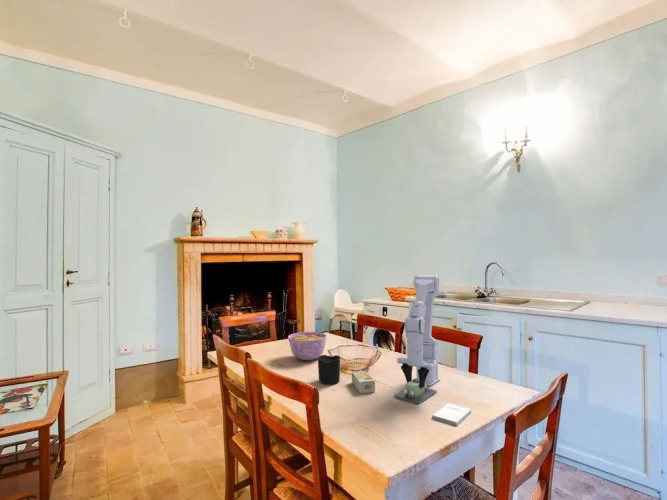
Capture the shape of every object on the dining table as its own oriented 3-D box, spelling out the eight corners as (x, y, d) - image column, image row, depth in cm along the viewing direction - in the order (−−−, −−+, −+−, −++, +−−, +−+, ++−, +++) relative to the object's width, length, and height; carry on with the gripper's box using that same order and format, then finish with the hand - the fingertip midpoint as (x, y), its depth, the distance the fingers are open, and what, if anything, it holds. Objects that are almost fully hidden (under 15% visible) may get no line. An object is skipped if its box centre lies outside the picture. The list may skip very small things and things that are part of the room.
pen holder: (327, 387, 144) (327, 362, 144) (313, 381, 151) (313, 357, 151) (345, 381, 150) (344, 357, 150) (331, 375, 157) (330, 353, 157)
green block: (415, 389, 138) (414, 377, 138) (424, 391, 135) (424, 379, 135) (405, 394, 133) (405, 382, 133) (415, 397, 130) (414, 384, 130)
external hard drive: (431, 420, 115) (447, 407, 125) (456, 427, 110) (471, 413, 119) (431, 415, 115) (447, 402, 125) (456, 422, 110) (471, 408, 120)
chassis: (413, 386, 143) (413, 378, 143) (436, 392, 136) (436, 384, 136) (394, 397, 133) (394, 388, 133) (418, 404, 126) (418, 395, 126)
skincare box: (359, 382, 137) (350, 372, 149) (359, 393, 137) (351, 382, 149) (375, 380, 138) (365, 370, 150) (375, 391, 138) (365, 381, 150)
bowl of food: (281, 362, 177) (281, 339, 178) (297, 352, 197) (297, 331, 197) (319, 365, 172) (319, 341, 172) (332, 354, 191) (331, 332, 191)
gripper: (392, 348, 137) (393, 384, 136) (427, 355, 127) (428, 393, 127) (402, 344, 142) (403, 379, 142) (436, 351, 132) (437, 388, 132)
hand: (415, 385), depth 135 cm, fingers open, 5 cm apart
